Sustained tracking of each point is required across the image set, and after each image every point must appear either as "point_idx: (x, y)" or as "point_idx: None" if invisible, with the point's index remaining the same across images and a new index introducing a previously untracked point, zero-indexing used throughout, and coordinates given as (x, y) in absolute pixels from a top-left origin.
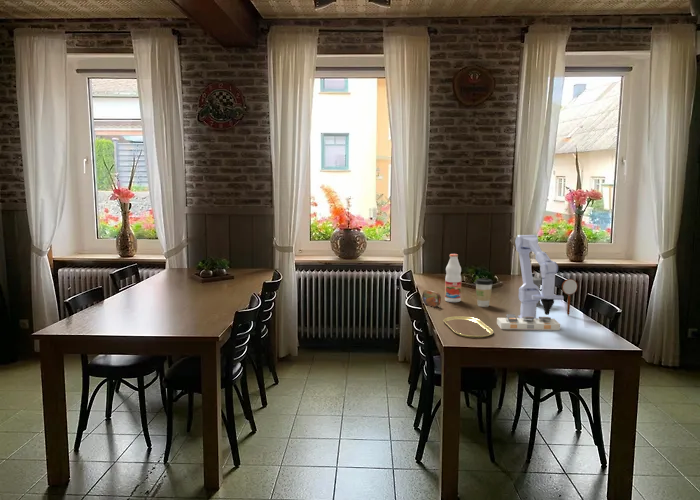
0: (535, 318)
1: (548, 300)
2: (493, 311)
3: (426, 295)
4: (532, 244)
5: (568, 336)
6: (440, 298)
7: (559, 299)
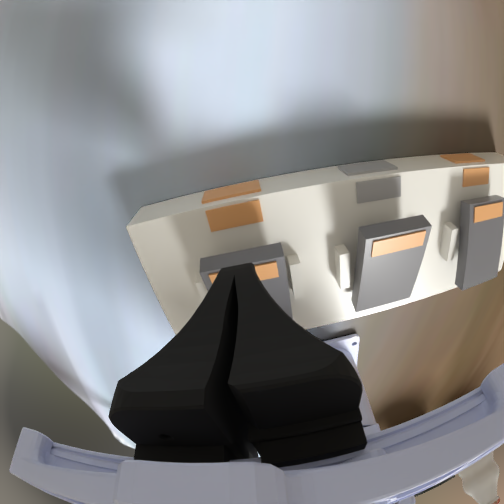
0: (308, 326)
1: (230, 441)
2: (413, 397)
3: None
4: None
5: (92, 65)
6: None
7: (66, 450)
